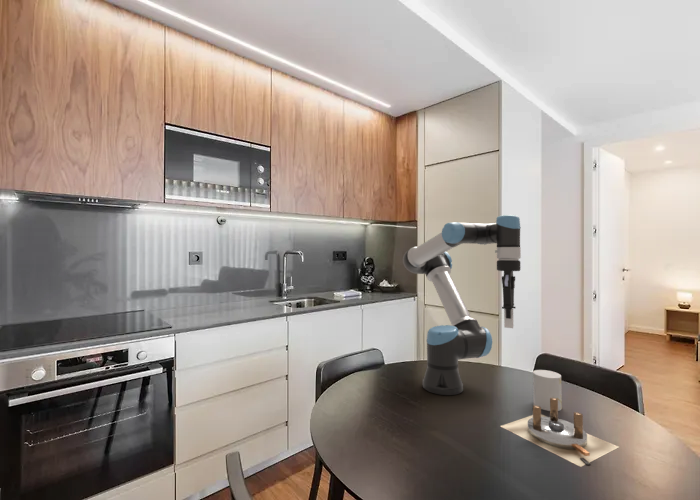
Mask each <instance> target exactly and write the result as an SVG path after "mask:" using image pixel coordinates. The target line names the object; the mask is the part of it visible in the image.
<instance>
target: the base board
mask: <svg viewBox="0 0 700 500" xmlns="http://www.w3.org/2000/svg"><path fill="white" fill-rule="evenodd" d="M541 417H547V416H546V415H544V414H542V413H541ZM531 418H533V414H532V415H528V416H526V417H523V418H520V419H517V420H514V421H511V422H508V423H505V424H502V425H500V426H499V427H501V428H502V429H504V430H506V431H509V432H510V433H513V434H514V435H517V436H518V437H520V438H522V439H524V440H527V441H529V442H530V443H532V444H534V445H536V446H538V447H540V448H542V449H544V450H546V451H547V452H550V453H552V454H554V455H556V456H558V457H560V458H562V459H564V460H565V461H567V462H569V463H572V464H574V465H575V466H578V467H580V468H582V467H584V466H591V462H593V461H595V460H597V459H600V458H602V457H603V456H605V455H608V454H609V453H611V452H613V451H615V450H617V449H619V448H620V446H619V445H615V444H614V443H611V442H609V441H606V440H604V439H601V438H599V437H597V436H594V435H592V434H589V433H587V432H586V434H587V445H586V446H585V447H583V448H584V449H585V450H586V451H588V452H589V453H590V456H584V455H583V454H582V453H580V452H579V451H578V450H576V449H565V448H559V447H555V446H551V445H548V444H546V443H543V442H541V441H539V440H537V439H536V438H534V437H533V436H532V435H531V434H530V433H529V432H528V420H529V419H531Z"/></svg>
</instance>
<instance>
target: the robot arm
mask: <svg viewBox="0 0 700 500" xmlns="http://www.w3.org/2000/svg"><path fill="white" fill-rule="evenodd" d="M463 244H472V245H473V244H477V245H484V246H485V245H489V244H490V245H492V244H496V250H494V253H495V254H496V259H498V260H497V261H496V271H498V272H503V275H502V276H501V284H502V297H503V298H502V299H503V301H502V303H503V305H502V306H501V309H502V310H503V309H504V310H503V312H504V313H503V315H504V317H503V319H504V320H503V325H504V328H507V329H514V309H516V306H515V287H516V286H515V285H516V284H515V282H516V276H515V275H514V272H520V271H521V261H520V259H521V258H522V257H521V256H522V255H521V221H520V216H519V215H516V214H515V215H514V214H506V215H505V214H504V215H499V216H497V217H496V221H495V223H494V222H493V223H478V222H477V223H473V222H472V223H471V222H470V223H469V222H458V221H457V222H456V221H453V222H447V223H445V224H444V225H443V227H442V229H441V232H440V233H438V234H436V235H435V236H433V237H431V238H430V239H428V240H427V241H424V242H423V243H421V244H420V245H418V246H413V247H410V248H409V249H408V250H406V252H405V253H404V254H403V257H402V264H403V266H404V268H405V269H406V270H407V271H408V272H410V273H412V274H415V275H425V276H426V279H427V280H428V281H429V282H431V283H432V284H433V286H434V288H435V291H436V293H437V295H438V297H439V299H440V302H441V304H442V306H443V308H444V311H445V313H446V315H447V317H448V320H449V322H450V324H451V325H450V324H447V325H443V324H441V325H436V326H432V327H430V328H429V329H428V330H427V334H426V366H427V367H426V370H425V372H424V377H423V378H422V388H423V389H424V390H425V391H427V392H429V393H432V394H434V395H435V394H436V395H441V396H455V395H459V394H461V393H462V392H463V391H464V383H463V381H462V378H461V374H460V372H459V371H460V370H459V360H469V359H475V358H476V359H479V358H482V357H485V356H487V355H489V354H490V353H491V350H492V347H493V337H492V333H491V332H490V330H489V329H488V328H487V327H484V326H480V324H479V322H478V320H477V319H475V318H473V317H472V316H471V313H469V310H468V307H466V304H465V302H464V300H463V298H462V296H461V294H460V293H459V289H458V287H456V284H455V282H454V281H453V278H452V276H451V273H452V268H453V263H452V262H453V260H452V257H451V255H450V253H449V252H448V251H450V250H452V249H454V248H457V247H458V246H460V245H463Z"/></svg>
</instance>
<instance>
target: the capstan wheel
mask: <svg viewBox="0 0 700 500" xmlns="http://www.w3.org/2000/svg"><path fill="white" fill-rule="evenodd" d="M541 414H542V409H541V407H540V406H537V405H534V404H533V405H532V415H533V418H531V419H529V420H528V432H529V433H530V434H531V435H532V436H533V437H534V438H536V439H537V440H539V441H541V442H543V443H546V444H548V445H551V446H555V447H559V448H565V449H576V450H578V451H579V452H580V453H582V454H583V455H584V456H590V453H589V452H588V451H586V450H585V449H584V448H583V447H585V446H586V445H587V434H588V433H587V432H586V431H585V429H584V419H583V418H584V417H583V416H584V415H583V413H582V412H577V411H574V412H573V422H570V421H567V420H565V419H561V418H559V411H558V399H557V398H550V411H549V416H546V417H541ZM586 433H587V434H586Z"/></svg>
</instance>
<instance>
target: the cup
mask: <svg viewBox="0 0 700 500" xmlns="http://www.w3.org/2000/svg"><path fill="white" fill-rule="evenodd" d="M532 377H533V378H532V380H533V382H532V385H533V386H532V387H533V389H532V390H533V392H532V393H533V395H532V396H533V397H532V399H533V400H532V401H533V405H537V406H540V407H541V410H544V411H548V412H550V398H557V399H558V412H559V411H561V410H562V405H563V404H562V403H563V401H562V399H563V398H562V396H563V395H562V393H563V392H562V375H561V374H560V373H558V372H555V371H552V370H546V369H535V370H533V371H532Z"/></svg>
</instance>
